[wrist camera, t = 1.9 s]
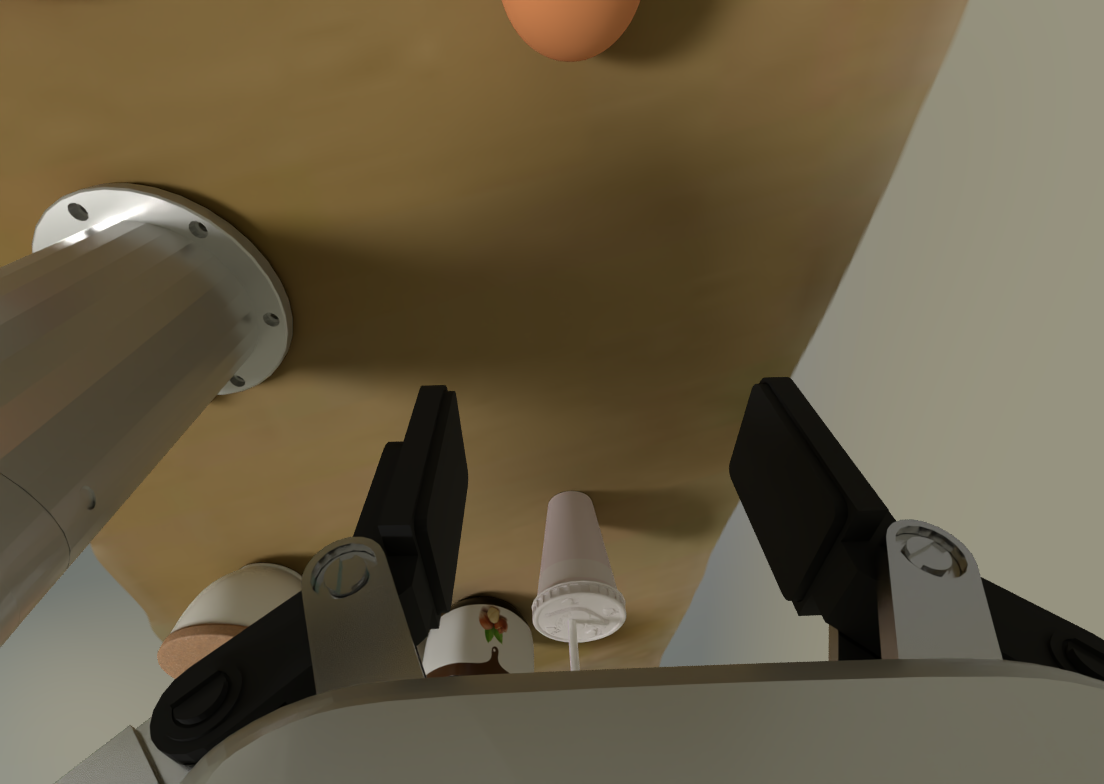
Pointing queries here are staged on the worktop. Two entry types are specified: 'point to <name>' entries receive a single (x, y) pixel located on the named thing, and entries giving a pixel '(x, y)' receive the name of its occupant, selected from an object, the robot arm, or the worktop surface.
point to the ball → (570, 25)
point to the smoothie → (576, 577)
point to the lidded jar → (226, 612)
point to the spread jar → (478, 641)
